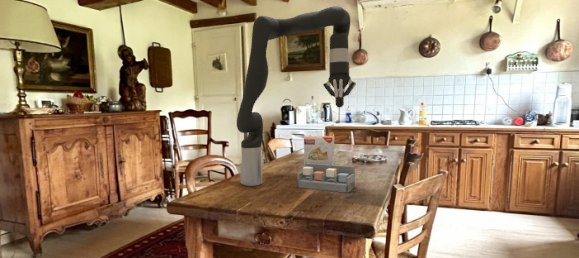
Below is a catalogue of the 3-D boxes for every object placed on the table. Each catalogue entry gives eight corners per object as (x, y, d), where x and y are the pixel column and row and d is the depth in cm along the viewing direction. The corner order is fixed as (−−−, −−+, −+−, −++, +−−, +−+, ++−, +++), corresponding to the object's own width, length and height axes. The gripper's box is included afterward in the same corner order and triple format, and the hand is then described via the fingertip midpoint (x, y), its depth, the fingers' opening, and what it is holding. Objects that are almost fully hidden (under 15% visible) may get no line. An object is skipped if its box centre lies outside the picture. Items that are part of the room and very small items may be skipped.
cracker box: (304, 179, 159) (303, 136, 157) (307, 176, 165) (306, 135, 163) (332, 180, 155) (332, 136, 153) (334, 177, 161) (334, 135, 159)
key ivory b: (326, 176, 141) (326, 169, 141) (329, 175, 144) (328, 168, 144) (333, 177, 139) (333, 170, 139) (336, 175, 142) (336, 168, 142)
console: (297, 187, 145) (297, 167, 144) (306, 182, 153) (306, 163, 153) (348, 192, 134) (348, 171, 133) (354, 186, 143) (354, 166, 142)
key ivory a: (302, 174, 146) (302, 167, 146) (306, 173, 149) (305, 166, 149) (310, 175, 144) (310, 168, 144) (313, 173, 147) (313, 167, 147)
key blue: (338, 181, 139) (338, 174, 138) (341, 179, 142) (341, 173, 141) (346, 182, 137) (346, 175, 137) (349, 180, 140) (348, 173, 140)
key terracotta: (314, 179, 144) (314, 172, 143) (317, 177, 147) (317, 171, 146) (321, 180, 142) (321, 173, 142) (324, 178, 145) (324, 171, 145)
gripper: (319, 62, 125) (320, 107, 126) (353, 59, 119) (353, 107, 120) (326, 64, 132) (326, 107, 133) (358, 61, 126) (359, 106, 127)
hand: (339, 107), depth 127 cm, fingers closed
